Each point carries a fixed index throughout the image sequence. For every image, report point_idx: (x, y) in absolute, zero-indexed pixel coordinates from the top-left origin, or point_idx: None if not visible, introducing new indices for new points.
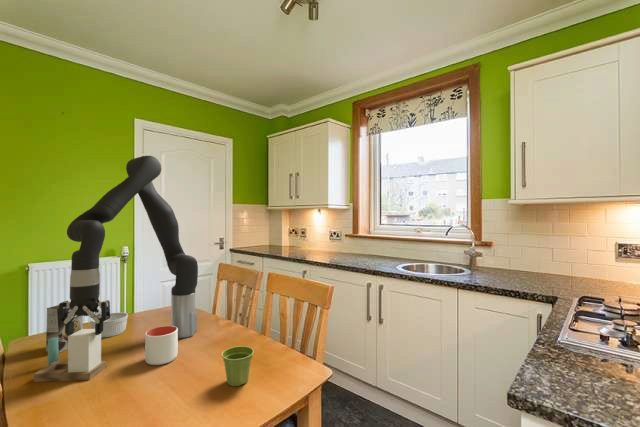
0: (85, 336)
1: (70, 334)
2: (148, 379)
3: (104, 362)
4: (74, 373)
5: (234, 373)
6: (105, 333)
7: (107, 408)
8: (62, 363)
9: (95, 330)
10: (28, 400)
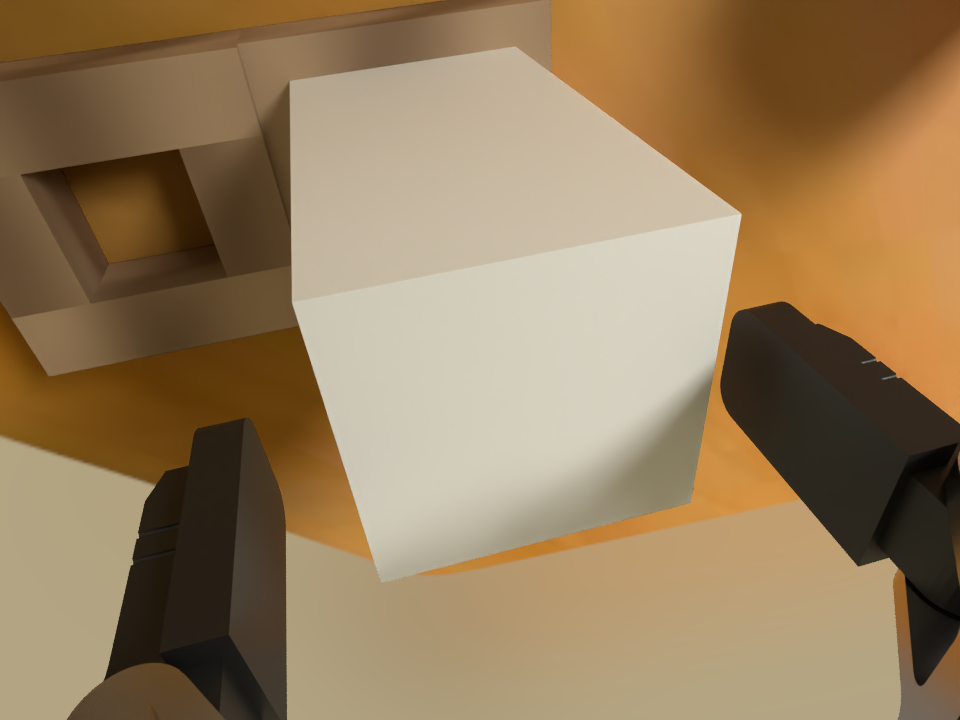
0: (640, 507)
1: (269, 478)
2: (952, 182)
3: (548, 34)
4: None
5: None
6: None
7: None
8: (75, 148)
9: (776, 459)
10: (333, 482)
